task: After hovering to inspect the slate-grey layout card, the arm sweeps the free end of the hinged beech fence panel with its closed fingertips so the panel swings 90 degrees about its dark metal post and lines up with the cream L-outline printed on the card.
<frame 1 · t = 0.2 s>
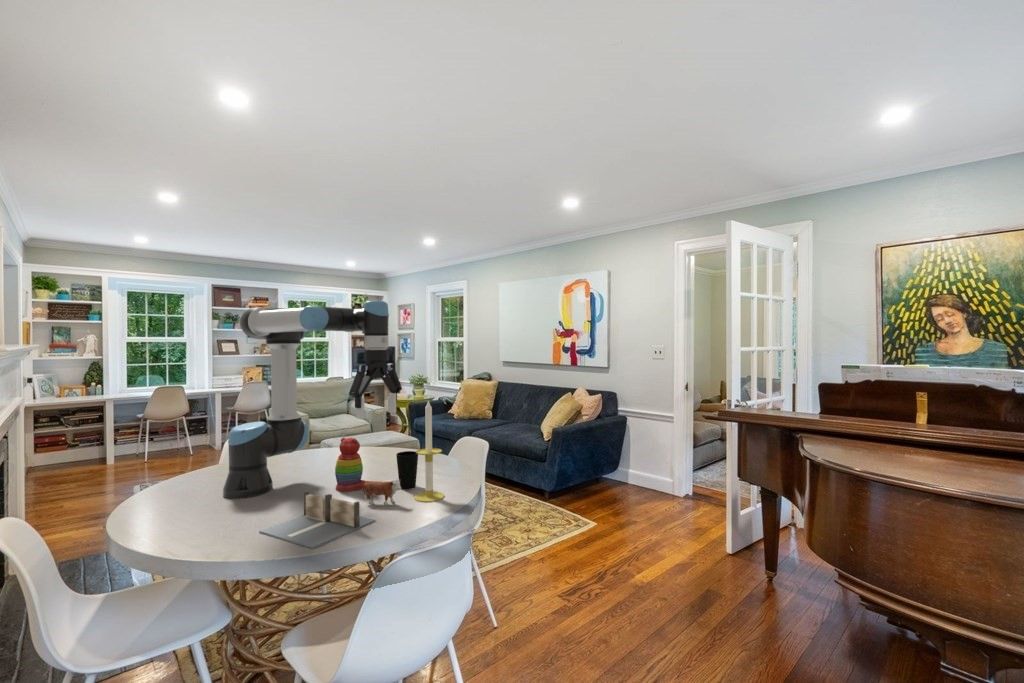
hand: (376, 415, 151), 28 cm above the table, fingers open, 13 cm apart
layout card: (318, 526, 132), on the table
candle: (429, 497, 157), on the table
fence fixed: (328, 522, 135), resting on layout card
cup: (407, 487, 168), on the table
fence hinged: (345, 511, 132), point 4 cm above the table, hinge at 0.0°
stacking bear: (350, 488, 168), on the table
bull figurine: (382, 504, 151), on the table
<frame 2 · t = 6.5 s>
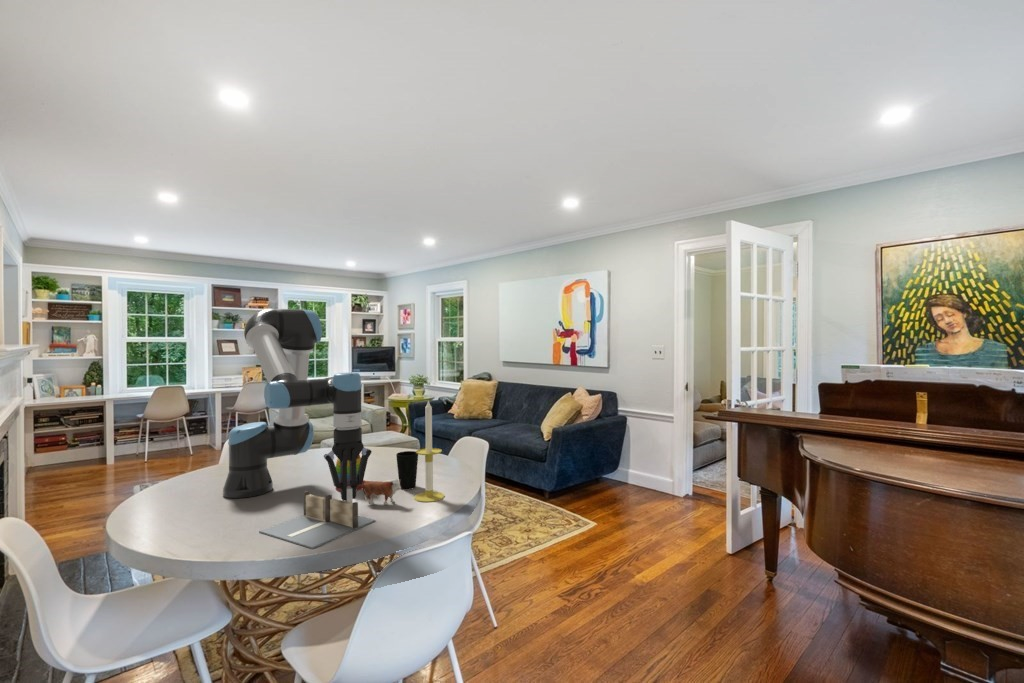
hand: (348, 510, 133), 4 cm above the table, fingers closed
fence hinged: (344, 511, 132), point 4 cm above the table, hinge at -2.8°, touching gripper
everything else where it was.
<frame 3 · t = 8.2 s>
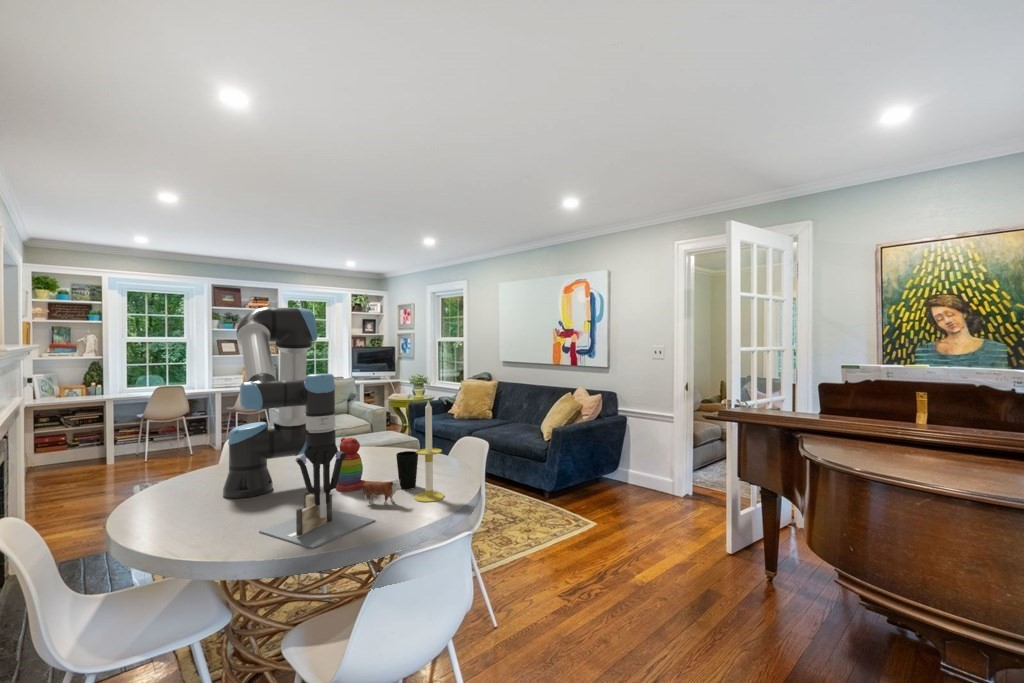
hand: (322, 516, 129), 4 cm above the table, fingers closed
fence hinged: (311, 515, 129), point 4 cm above the table, hinge at -78.0°, touching gripper
everything else where it was.
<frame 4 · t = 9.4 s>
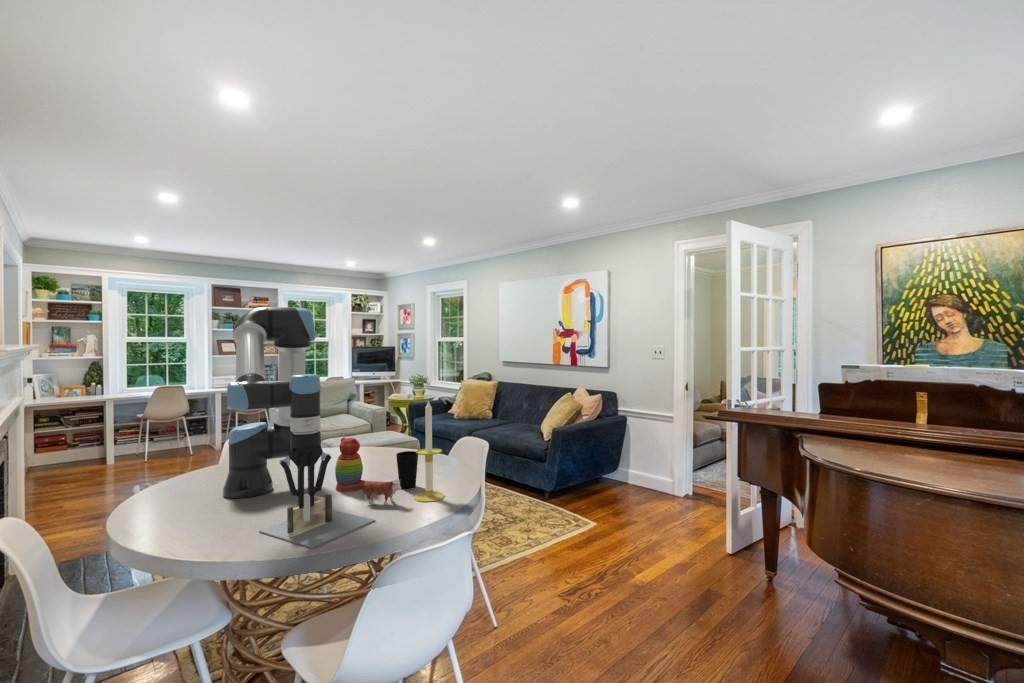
hand: (306, 519, 127), 4 cm above the table, fingers closed
fence hinged: (306, 514, 130), point 4 cm above the table, hinge at -95.1°, touching gripper
everything else where it was.
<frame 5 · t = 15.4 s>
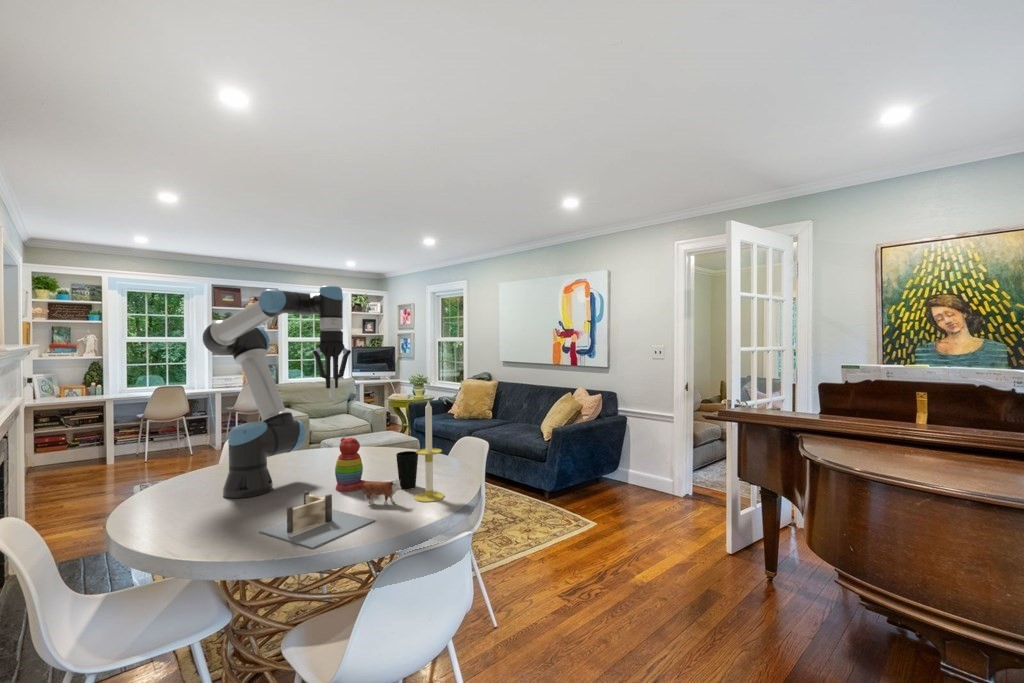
hand: (332, 397, 165), 32 cm above the table, fingers closed
fence hinged: (306, 514, 130), point 4 cm above the table, hinge at -96.0°
everything else where it was.
at the end: fence hinged at -96° (first picture: +0°) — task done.
